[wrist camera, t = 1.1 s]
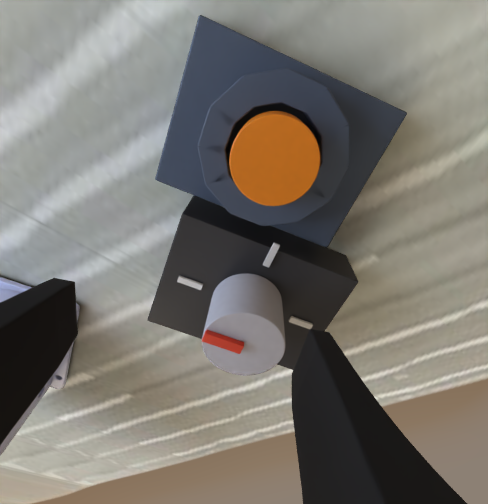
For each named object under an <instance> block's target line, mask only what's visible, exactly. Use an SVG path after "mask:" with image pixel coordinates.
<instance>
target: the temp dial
mask: <svg viewBox="0 0 488 504" xmlns="http://www.w3.org/2000/svg"><path fill="white" fill-rule="evenodd" d="M202 347H203V351H204V353H205V355H206V357H207V358H208V359H209V361H210V362H211V363H212V364H214V365H215V366H216V367H218V368H219V369H221V370H223V371H226V372H228V373H232V374H236V375H255V374H260V373H263V372H266V371H268V370H270V369H271V368H273V367H274V366H276V365H277V364H278V363H279V361H280V360H281V359H282V357H283V355H284V352H285V332H284V319H283V307H282V298H281V295H280V292H279V291H278V289H277V288H276V286H275V285H274V284H273V283H272V282H270V281H269V280H267V279H266V278H264V277H261V276H259V275H255V274H247V273H246V274H237V275H233V276H230V277H228V278H226V279H224V280H223V281H222V282H221V283H220V284H219V285H218V286H217V287H216V288H215V290H214V292H213V295H212V299H211V303H210V307H209V312H208V316H207V320H206V324H205V328H204V332H203V336H202Z"/></svg>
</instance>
